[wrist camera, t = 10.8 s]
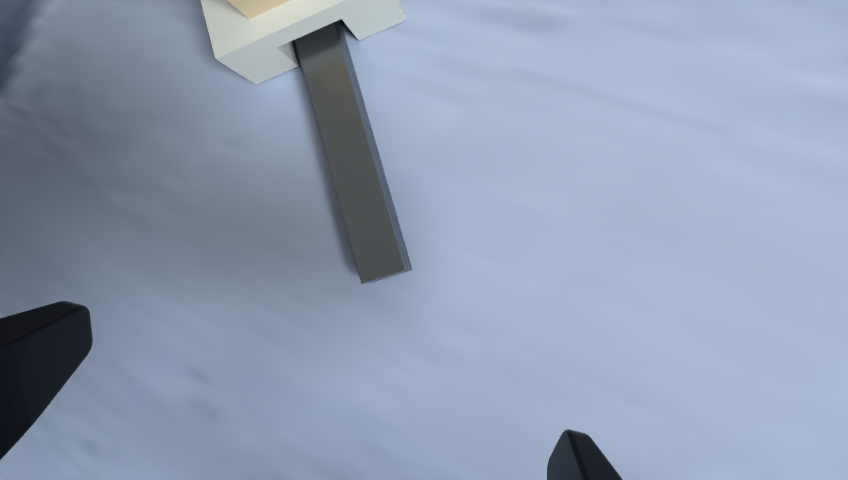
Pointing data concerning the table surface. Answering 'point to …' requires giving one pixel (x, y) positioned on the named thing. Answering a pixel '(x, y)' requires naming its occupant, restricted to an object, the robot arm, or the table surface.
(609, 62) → the table surface
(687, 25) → the table surface
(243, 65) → the cream block on base
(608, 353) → the table surface
